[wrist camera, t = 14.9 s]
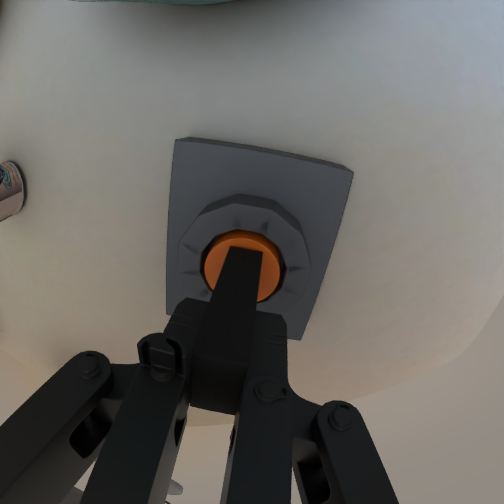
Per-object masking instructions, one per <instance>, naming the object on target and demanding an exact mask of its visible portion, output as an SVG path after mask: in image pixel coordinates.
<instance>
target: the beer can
mask: <svg viewBox="0 0 504 504" xmlns="http://www.w3.org/2000/svg"><path fill="white" fill-rule="evenodd" d="M23 198H24V191H23V182H22V178H21V176H20V174H19V171H18V169H17V167H16V166H15V165H14V164H13V163H11V162H9V161H6V162H3V163H1V164H0V222H1V221H3V220H5V219H7V218H8V217H10V216H12V215H14V214H16V213H18V212H19V211H20V209H21V207H22V203H23Z"/></svg>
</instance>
